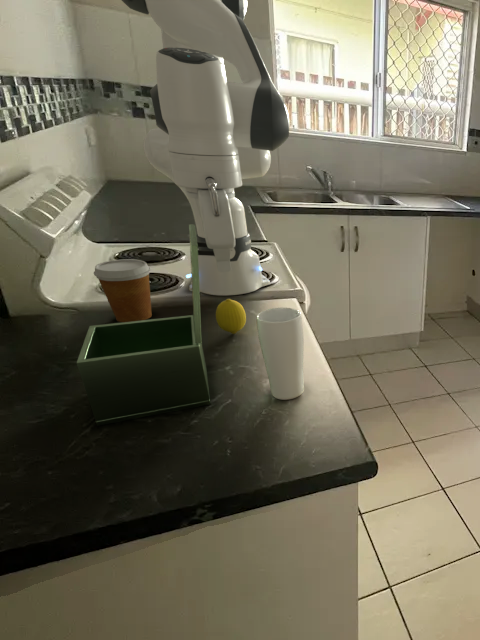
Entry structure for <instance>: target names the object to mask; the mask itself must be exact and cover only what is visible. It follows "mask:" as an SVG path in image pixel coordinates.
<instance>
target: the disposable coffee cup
mask: <svg viewBox="0 0 480 640" xmlns="http://www.w3.org/2000/svg"><path fill="white" fill-rule="evenodd" d="M150 271H151V267H150V266H149V265H148V264H147V262H146V261H144V260H142V259H134V258H133V259H132V258H131V259H130V258H128V259H127V258H125V259H114V260H113V259H112V260H107V261H103V262H100V263H98V264H96V265H95V266H94V271H93V275H94V276H95V278H96V279H97V280H98V282H99V284H100V286H101V288H102V290H103V293H104V295H105V297H106V299H107V301H108V304H109V306H110V308H111V310H112V313H113V315H114V317H115V319H116V321H117V322H118V323H123V322H132V321H142V320H149V319H150V318H152V315H153V314H152V301H151V300H152V299H151V297H152V296H151V285H150V284H151V283H150V273H151V272H150Z"/></svg>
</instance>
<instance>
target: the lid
mask: <svg viewBox="0 0 480 640" xmlns="http://www.w3.org/2000/svg"><path fill="white" fill-rule="evenodd" d="M188 231H189V253H190V254H189V255H190V274H191V277H190V278H191V279H190V280H191V282H190V283H192V291H191V300H192V301H191V302H192V315H193V320H194V332H195V343H202V322H201V321H202V320H201V319H202V318H201V297H200V296H201V295H200V294H201V292H200V290H199V264H198V255H207V256H215V255H214V251H213V250H199V249H198V247H207V244H206V242H197V237H196V235H197V229H196V224H188Z"/></svg>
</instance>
